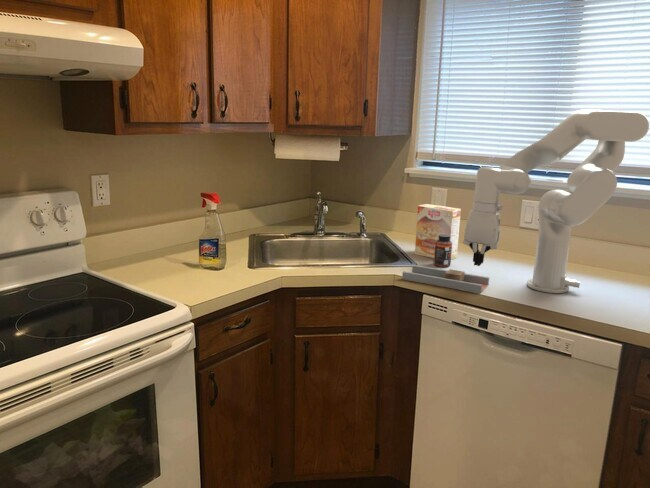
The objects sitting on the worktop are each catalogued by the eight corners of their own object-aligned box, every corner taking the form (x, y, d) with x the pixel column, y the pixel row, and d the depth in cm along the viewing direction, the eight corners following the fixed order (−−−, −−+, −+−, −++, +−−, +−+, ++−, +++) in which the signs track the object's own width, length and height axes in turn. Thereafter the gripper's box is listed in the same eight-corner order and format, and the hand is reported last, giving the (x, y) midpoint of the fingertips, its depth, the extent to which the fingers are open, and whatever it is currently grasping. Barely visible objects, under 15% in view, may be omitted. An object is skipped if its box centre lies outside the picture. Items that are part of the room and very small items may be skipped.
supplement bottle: (450, 268, 194) (453, 237, 191) (433, 266, 195) (436, 236, 192) (450, 263, 200) (452, 234, 197) (433, 262, 201) (436, 233, 198)
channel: (488, 284, 176) (489, 277, 176) (480, 293, 167) (481, 285, 167) (413, 271, 188) (413, 264, 188) (402, 279, 180) (402, 272, 179)
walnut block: (463, 283, 177) (464, 271, 176) (459, 287, 173) (460, 275, 172) (448, 280, 180) (449, 269, 179) (444, 284, 176) (445, 272, 175)
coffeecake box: (414, 254, 212) (417, 205, 207) (423, 251, 217) (426, 203, 212) (448, 261, 202) (452, 210, 198) (457, 258, 208) (461, 208, 203)
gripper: (512, 209, 166) (504, 266, 170) (464, 203, 173) (457, 258, 177) (507, 212, 160) (499, 271, 164) (458, 205, 167) (451, 262, 171)
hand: (477, 264), depth 171 cm, fingers closed
